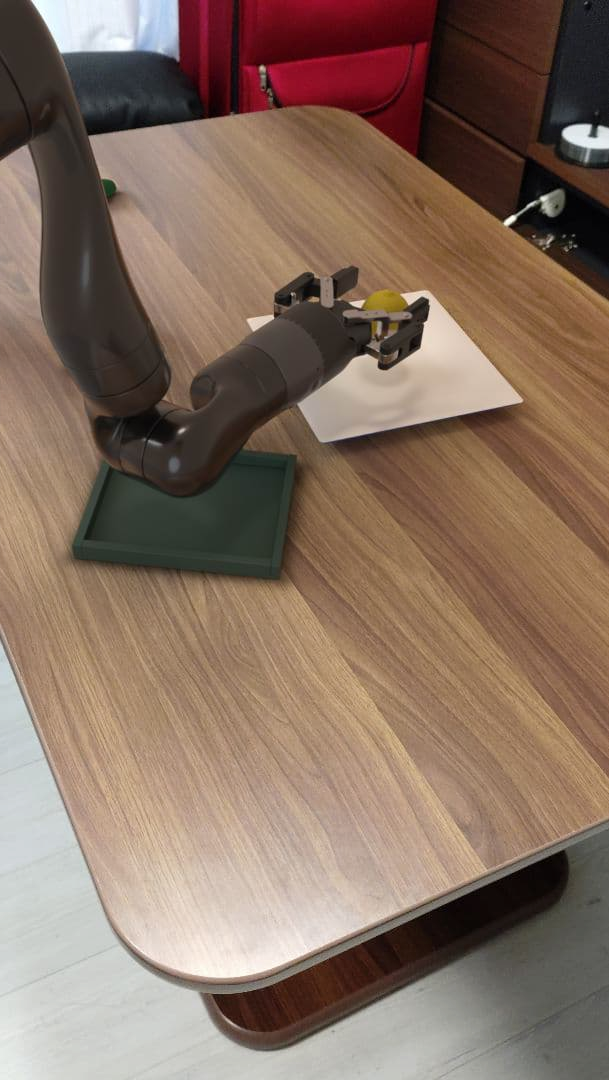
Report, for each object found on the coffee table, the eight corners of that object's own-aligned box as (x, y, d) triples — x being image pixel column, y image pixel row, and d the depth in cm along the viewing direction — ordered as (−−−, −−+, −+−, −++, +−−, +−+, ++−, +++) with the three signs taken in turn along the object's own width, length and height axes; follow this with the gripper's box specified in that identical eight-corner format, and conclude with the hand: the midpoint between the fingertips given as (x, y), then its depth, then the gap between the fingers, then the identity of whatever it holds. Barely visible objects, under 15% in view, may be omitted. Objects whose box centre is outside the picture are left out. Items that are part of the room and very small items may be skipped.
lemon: (376, 378, 100) (384, 310, 94) (343, 352, 103) (349, 285, 97) (416, 362, 102) (427, 295, 97) (383, 337, 105) (392, 270, 100)
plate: (245, 333, 108) (245, 316, 107) (425, 303, 115) (428, 287, 113) (319, 458, 94) (320, 441, 92) (520, 416, 100) (525, 399, 99)
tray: (73, 558, 83) (71, 545, 82) (113, 449, 93) (111, 436, 92) (279, 579, 82) (280, 566, 81) (296, 467, 93) (296, 454, 92)
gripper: (356, 355, 83) (456, 282, 92) (229, 293, 88) (335, 231, 98) (348, 424, 88) (443, 349, 97) (229, 362, 94) (330, 296, 103)
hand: (389, 290), depth 98 cm, fingers open, 8 cm apart
